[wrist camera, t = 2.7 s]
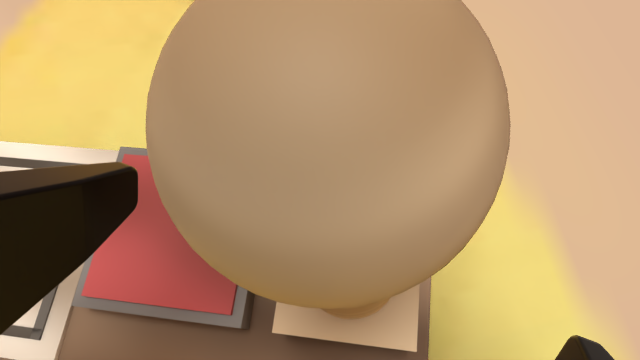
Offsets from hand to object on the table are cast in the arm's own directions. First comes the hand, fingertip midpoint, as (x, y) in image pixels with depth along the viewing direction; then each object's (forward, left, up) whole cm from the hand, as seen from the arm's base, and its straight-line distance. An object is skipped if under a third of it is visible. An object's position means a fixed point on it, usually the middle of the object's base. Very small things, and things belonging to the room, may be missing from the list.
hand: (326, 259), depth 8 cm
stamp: (+1, 0, -9) cm, 9 cm away
